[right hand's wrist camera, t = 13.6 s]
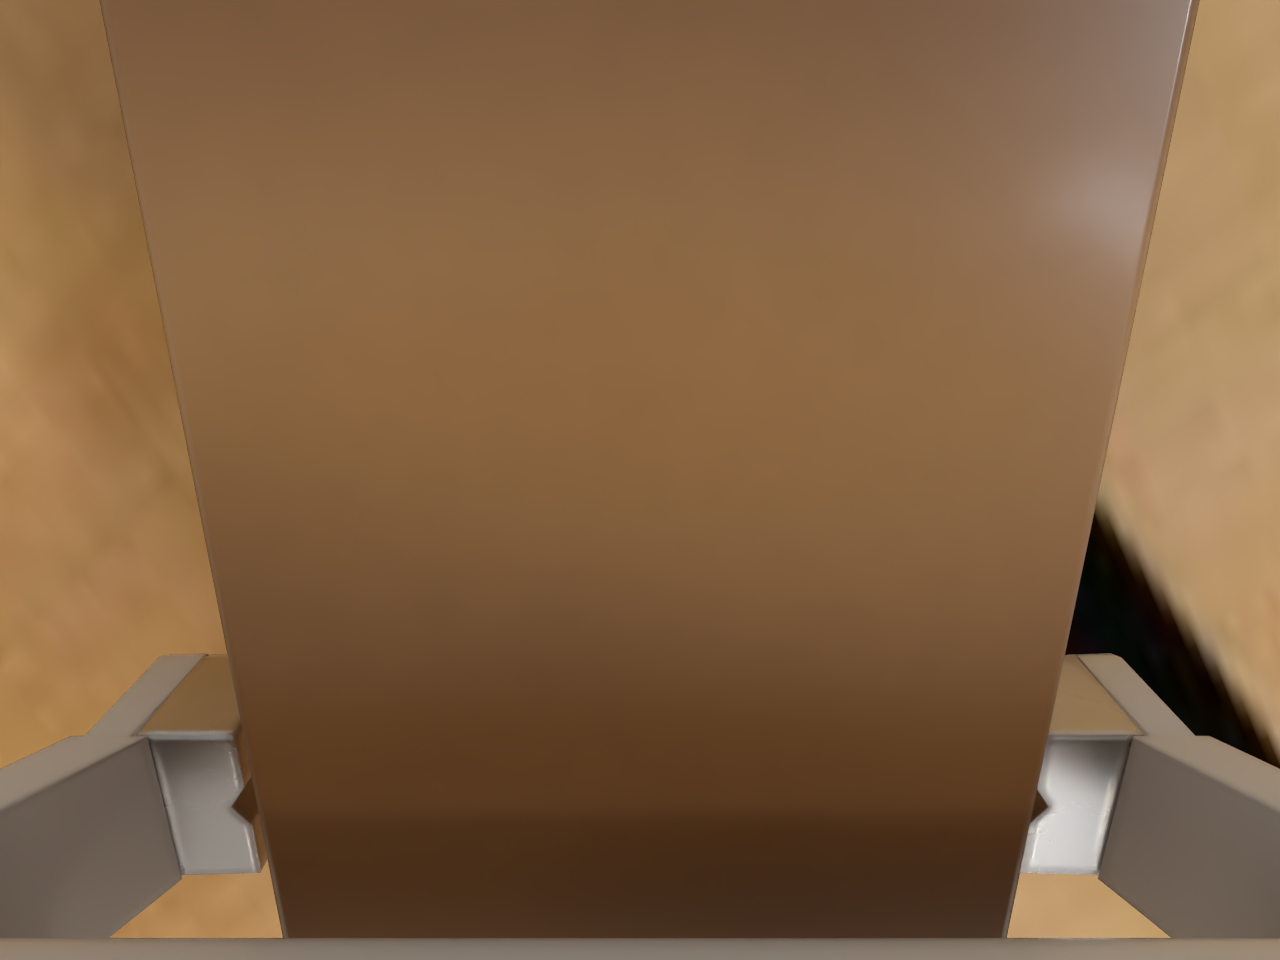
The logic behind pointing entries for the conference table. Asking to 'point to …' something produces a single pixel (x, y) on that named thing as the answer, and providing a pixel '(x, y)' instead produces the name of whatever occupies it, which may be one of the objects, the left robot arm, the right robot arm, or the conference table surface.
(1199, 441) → the conference table surface
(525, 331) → the box
